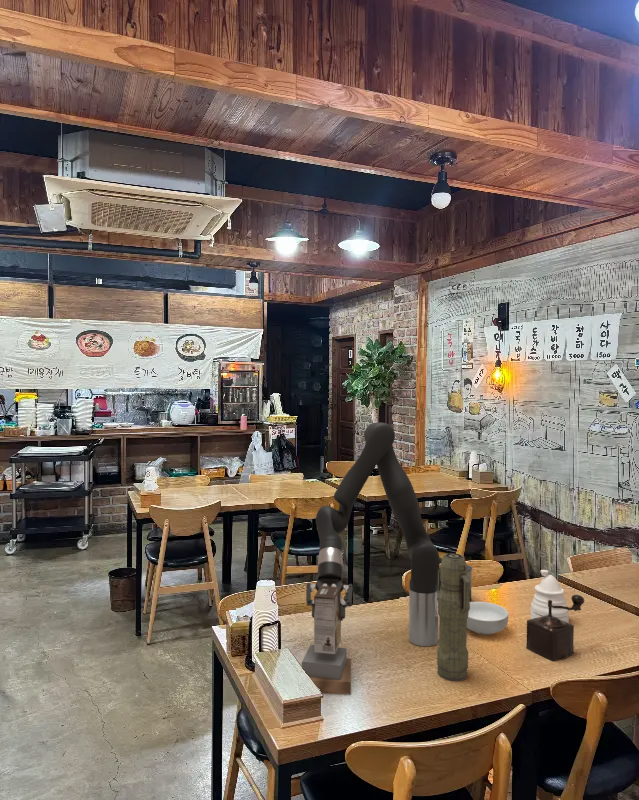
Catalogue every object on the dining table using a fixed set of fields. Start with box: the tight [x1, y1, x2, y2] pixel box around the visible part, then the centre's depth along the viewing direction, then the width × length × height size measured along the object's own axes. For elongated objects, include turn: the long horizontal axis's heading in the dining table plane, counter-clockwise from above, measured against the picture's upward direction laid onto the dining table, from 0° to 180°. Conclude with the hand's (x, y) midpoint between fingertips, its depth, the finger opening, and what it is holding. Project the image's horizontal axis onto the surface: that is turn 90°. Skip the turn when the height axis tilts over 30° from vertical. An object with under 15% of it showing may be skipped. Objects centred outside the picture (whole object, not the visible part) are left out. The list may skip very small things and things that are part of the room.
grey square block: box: [301, 644, 348, 680], centre depth 167 cm, size 11×11×4 cm
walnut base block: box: [310, 657, 352, 695], centre depth 167 cm, size 14×14×4 cm
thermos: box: [436, 552, 470, 682], centre depth 171 cm, size 9×12×35 cm
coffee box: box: [313, 586, 342, 654], centre depth 167 cm, size 9×6×16 cm
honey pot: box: [530, 569, 570, 623], centre depth 210 cm, size 13×13×18 cm
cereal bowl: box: [467, 601, 509, 636], centre depth 202 cm, size 17×17×7 cm
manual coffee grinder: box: [525, 594, 585, 662], centre depth 187 cm, size 16×11×18 cm
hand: (328, 619), depth 167 cm, fingers closed on coffee box, 7 cm apart
